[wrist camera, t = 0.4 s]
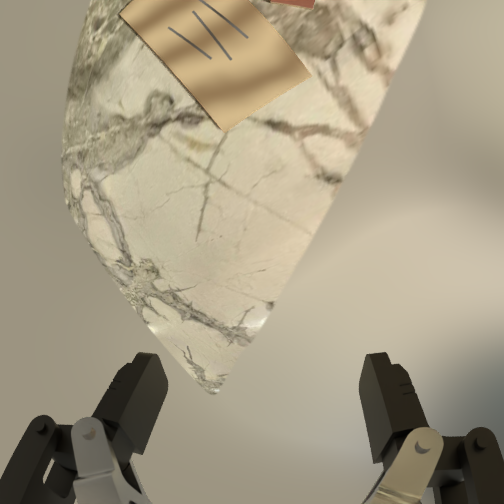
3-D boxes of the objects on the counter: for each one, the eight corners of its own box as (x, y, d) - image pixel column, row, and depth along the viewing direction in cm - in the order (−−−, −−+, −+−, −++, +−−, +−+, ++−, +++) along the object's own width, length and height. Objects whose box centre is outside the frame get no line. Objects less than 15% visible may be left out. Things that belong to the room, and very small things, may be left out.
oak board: (124, 14, 22) (119, 14, 21) (196, -46, 17) (193, -49, 16) (226, 131, 31) (224, 133, 31) (311, 76, 26) (312, 76, 25)
